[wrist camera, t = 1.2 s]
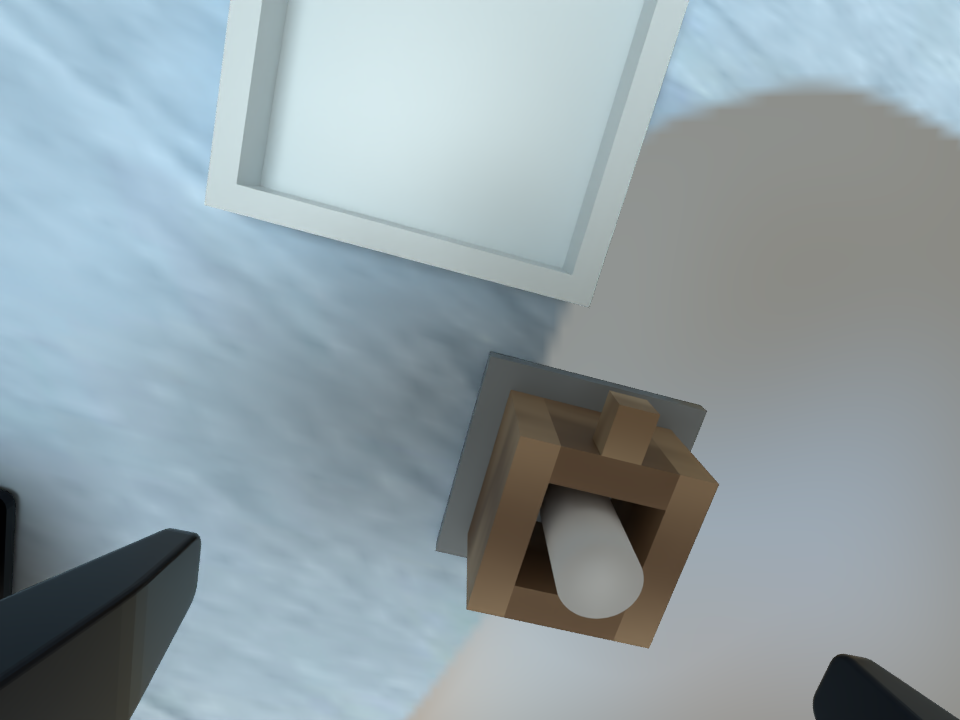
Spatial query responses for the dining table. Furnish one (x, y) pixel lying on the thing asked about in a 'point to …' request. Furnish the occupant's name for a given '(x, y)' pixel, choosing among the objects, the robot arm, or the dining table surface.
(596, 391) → the post base
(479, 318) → the dining table surface
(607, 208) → the tray
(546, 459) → the open wooden frame
